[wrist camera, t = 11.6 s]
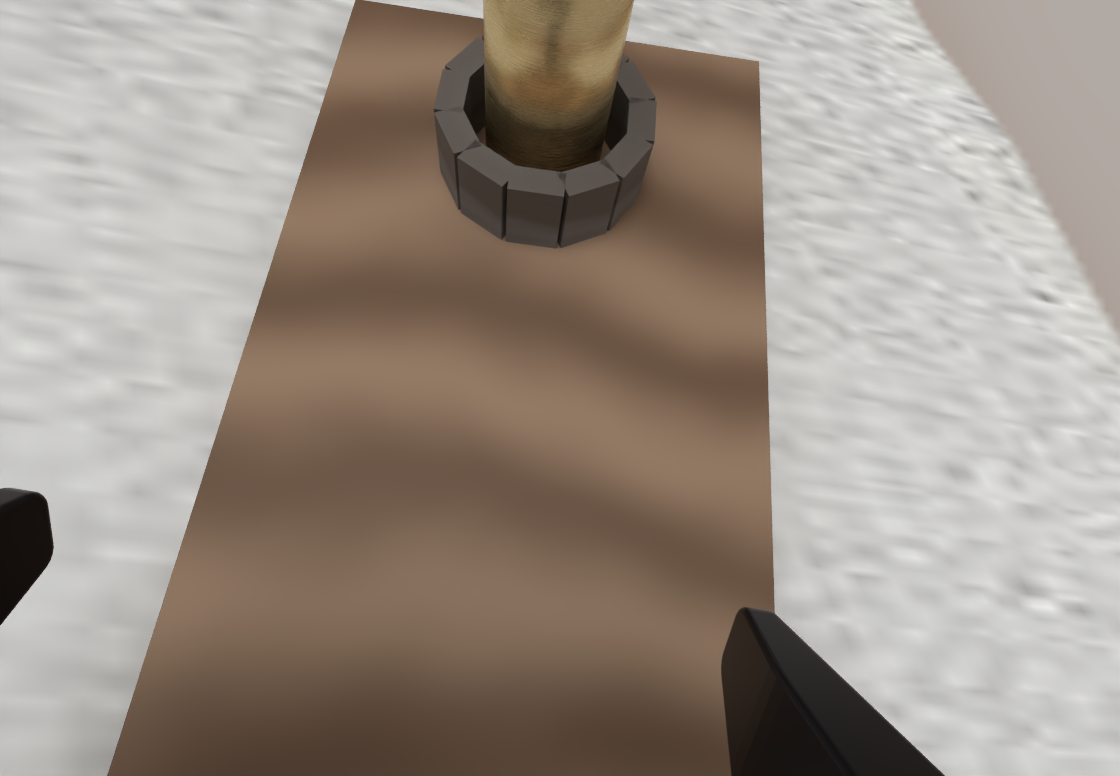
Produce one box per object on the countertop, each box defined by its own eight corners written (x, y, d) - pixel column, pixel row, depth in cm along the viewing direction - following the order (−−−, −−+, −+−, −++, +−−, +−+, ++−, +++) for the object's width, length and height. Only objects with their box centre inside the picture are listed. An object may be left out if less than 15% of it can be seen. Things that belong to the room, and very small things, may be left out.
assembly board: (764, 849, 19) (835, 900, 15) (124, 789, 18) (21, 827, 14) (749, 83, 30) (786, -1, 26) (361, 23, 29) (341, -72, 26)
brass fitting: (618, 166, 26) (724, -246, 14) (546, 231, 25) (596, -168, 13) (537, 106, 27) (571, -332, 15) (462, 166, 25) (434, -269, 13)
